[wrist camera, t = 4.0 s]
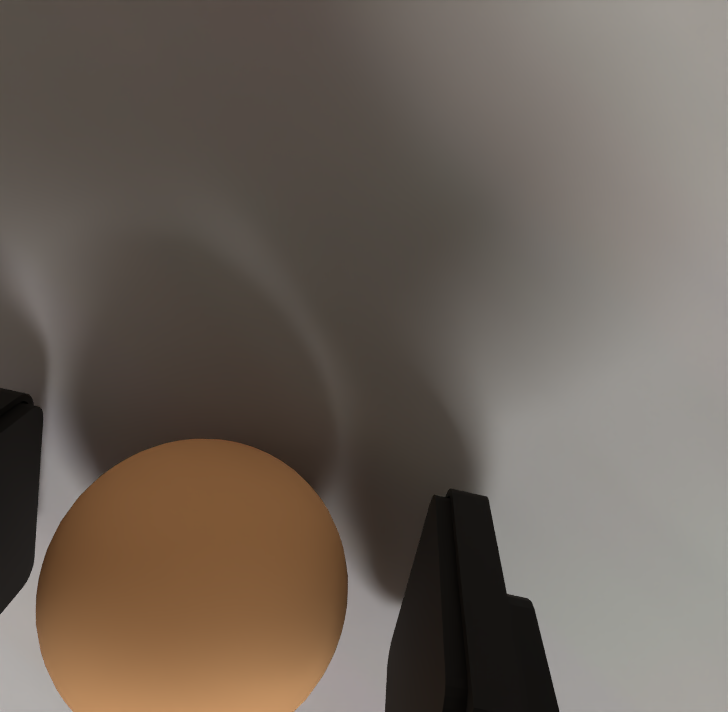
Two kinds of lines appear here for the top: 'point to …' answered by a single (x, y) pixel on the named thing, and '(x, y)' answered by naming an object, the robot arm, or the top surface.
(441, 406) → the top surface
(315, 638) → the mixing ball
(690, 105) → the top surface
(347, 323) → the top surface
